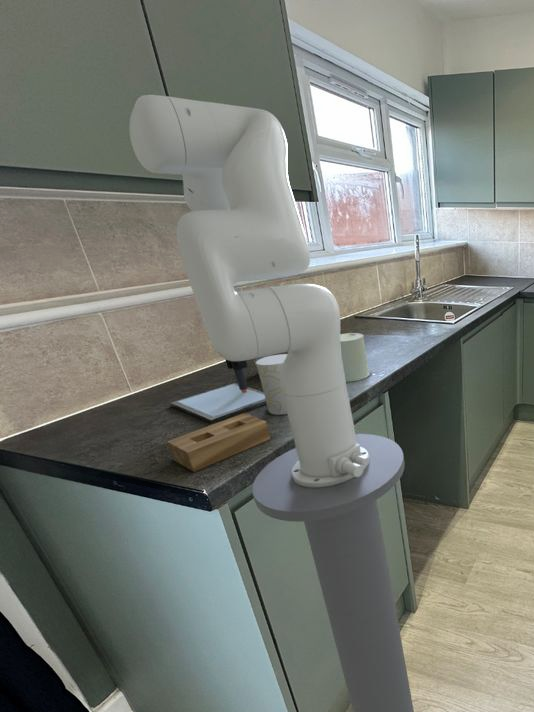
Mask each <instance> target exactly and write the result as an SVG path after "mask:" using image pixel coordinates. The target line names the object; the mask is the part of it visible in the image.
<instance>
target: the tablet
mask: <svg viewBox="0 0 534 712" xmlns="http://www.w3.org/2000/svg"><path fill="white" fill-rule="evenodd" d="M247 387H248V386H247ZM170 405H171V407H174V408H176V409H178V410H181V411H182V412H185V413H187V414H189V415H192V416H194V417H196V418H199V419H201V420H203V421H206V422H208V423H210V424H215V423H218V422H221V421H224V420H226V419H229V418H232V417H235V416H237V415H240V414H243V413H246V412H247V411H250V410H253V409H256V408H259V407H261V406H264V405H267V403H266V399H265V395H264V391H261V390H258V389H255V388H251V387H248V388H247V392H244V393H243V392H242V391H241V390H240V389H239V385H238V383H237V382H233V383H230V384H227V385H224V386H220V387H218V388H214V389H211V390H208V391H204V392H202V393H199V394H195V395H192V396H188V397H185V398H181V399H178V400H175V401H171V402H170Z"/></svg>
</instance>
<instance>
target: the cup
mask: <svg viewBox="0 0 534 712" xmlns="http://www.w3.org/2000/svg"><path fill="white" fill-rule="evenodd" d="M287 354H288V353H284V354H280V355H273V356H268V357H265V358H262V359H259V360H258V361H256V365H257V368H258V369H257V368H256V369H257V373H258V377H259V379H260V383H261V387H262V392H264V395H265V399H266V403H267V404H266V407H267V410H268V413H269V414H271V415H278V416H279V415H288V414H287V410H286V406H285V402H284V398H283V394H282V390H281V385H280V372H281V368H282V365H283V363H284V361H285V359H286V357H287Z"/></svg>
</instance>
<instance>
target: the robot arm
mask: <svg viewBox="0 0 534 712" xmlns="http://www.w3.org/2000/svg"><path fill="white" fill-rule="evenodd" d="M128 129H129V138H130V142H131V143H130V144H131V147H132V151H133V152H134V155H135V157H136V159H137V160H138V162H139V163H140V165H141V166H142V167H143V168H144V169H145V170H146V171H148V172H150V173H153V174H159V175H160V174H161V175H181V176H182V185H183V186H182V187H183V198H184V202H185V204H186V205H187V207H188V208H189V210H190V211H189V212H188V211H187V212H186V213H185V214H183V215H182V216H180V218H179V219H178V221H177V224H176V235H175V236H176V243H177V247H178V252H179V254H180V257H181V262H182V264H183V268H184V271H185V273H186V276H187V279H188V283H189V285H190V288H191V290H192V293H193V296H194V299H195V302H196V304H197V308H198V310H199V313H200V316H201V319H202V322H203V325H204V327H205V330H206V333H207V336H208V338H209V340H210V343H211V346H213V347H212V348H214V350H215V352H216V353H217V354H218V356H220V357H221V358H223V359H224V360H225V363H226V367H227V369H228V370H231V369H232V370H233V371H234V370H239V369H243V370H244V369H246V368H248V363H247V361H249V360H253V359H255V358H259V357H264V356H269V355H273V354H278V353H286V354H287V357H286V359H285V361H284V363H283V365H282V368H281V372H280V385H281V390H282V394H283V398H284V402H285V406H286V410H287V414H286V415H287V418H288V422H289V426H290V430H291V434H292V438H293V442H294V447H295V448H296V451H297V455H298V459H299V460H298V461H297V462H296V463H295V465H294V466H293V468H292V470H291V474H292V478H293V480H294V481H295V482H296V483H297V484H299V485H301V486H304V487H310V488H319V487H328V486H333V485H336V484H340V483H343V482H345V481H348V480H350V479H352V478H354V477H359V476H361V475H362V474H363V471H364V469H365V468H366V467H367V466H368V464H369V462H370V460H369V454H368V452H367V450H366V449H364V448H362V447H360V445H359V444H357V440H356V434H357V433H356V429H355V423H354V419H353V413H352V408H351V402H350V397H349V391H348V386H347V382H346V380H345V374H344V369H343V362H342V355H341V344H340V334H341V311H340V306H339V303H338V301H337V298H336V297H335V296H334V294H333V293H332V292H331V291H330V290H329V289H327V288H326V287H323V286H321V285H318V284H313V283H292V284H284V285H275V286H267V287H262V288H261V287H260V288H253V289H245V290H238V291H237V290H236V288H235V285H236V284H237V283H242V282H252V281H261V280H263V281H264V280H270V279H271V280H272V279H279V278H287V277H292V276H297V275H300V274H302V273H304V272H305V271H307V270H308V269H309V267H310V263H311V253H310V247H309V244H308V241H307V236H306V233H305V230H304V226H303V223H302V220H301V216H300V213H299V209H298V207H297V204H296V200H295V197H294V194H293V191H292V188H291V185H290V180H289V174H288V172H289V171H288V141H287V138H286V137H287V136H286V134H285V131H284V128H283V126H282V124H281V122H280V121H279V119H278V118H277V117H276V116H275V115H274V114H273V113H271V112H270V111H268V110H266V109H262V108H255V107H248V106H241V105H235V104H234V105H233V104H226V103H219V102H212V101H203V100H195V99H189V98H182V97H175V96H170V95H169V96H168V95H159V94H143V95H141V96H139V97H138V98H137V99H136V101H135V103H134V107H133V108H132V110H131V113H130V117H129V128H128Z"/></svg>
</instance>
